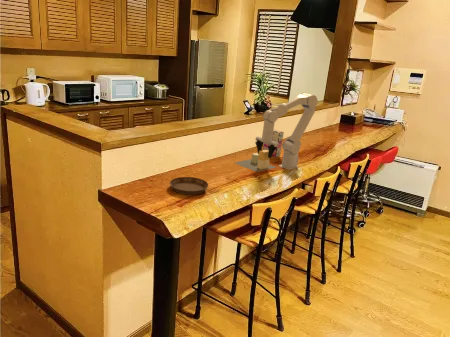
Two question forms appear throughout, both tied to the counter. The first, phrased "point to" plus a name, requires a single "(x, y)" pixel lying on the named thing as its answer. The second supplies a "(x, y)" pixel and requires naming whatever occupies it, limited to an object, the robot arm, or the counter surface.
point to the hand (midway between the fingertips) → (264, 155)
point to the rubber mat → (252, 165)
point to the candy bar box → (278, 139)
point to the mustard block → (263, 155)
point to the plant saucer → (188, 185)
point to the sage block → (254, 158)
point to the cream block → (263, 164)
